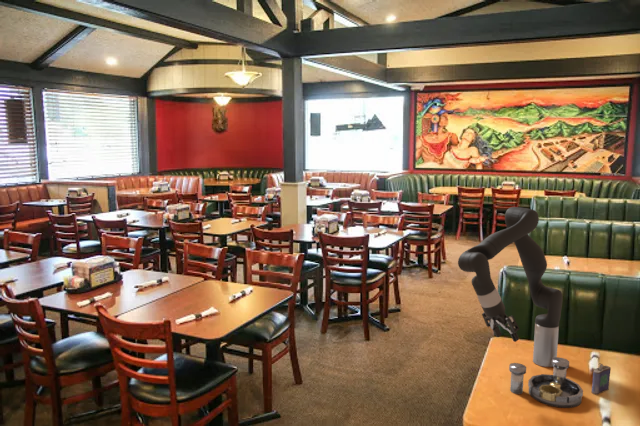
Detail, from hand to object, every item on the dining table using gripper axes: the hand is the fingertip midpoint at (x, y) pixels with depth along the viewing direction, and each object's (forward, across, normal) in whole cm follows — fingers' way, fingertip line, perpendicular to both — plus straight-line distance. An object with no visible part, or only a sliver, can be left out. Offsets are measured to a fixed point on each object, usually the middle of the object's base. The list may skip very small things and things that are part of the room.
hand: (507, 338), depth 187 cm
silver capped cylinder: (+23, +4, +4) cm, 23 cm away
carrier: (+28, -4, -5) cm, 29 cm away
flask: (+37, -9, -22) cm, 44 cm away
